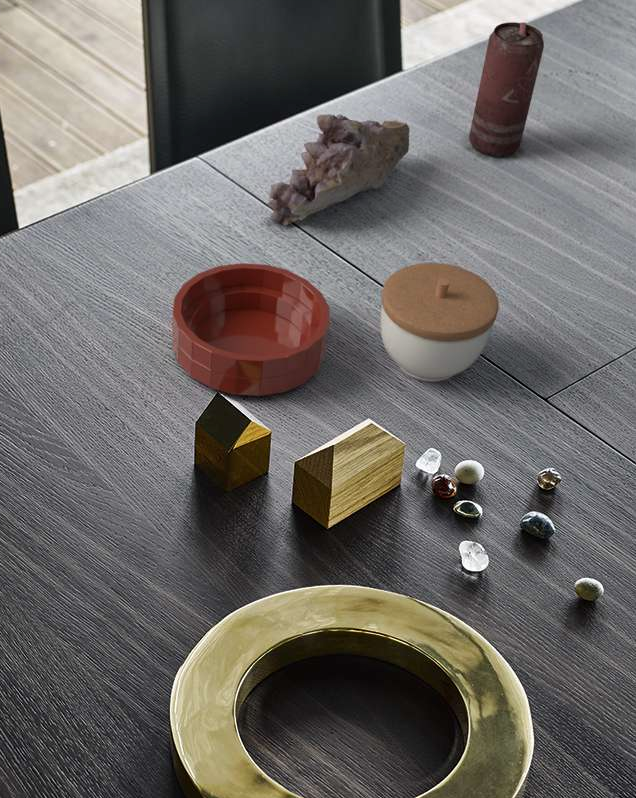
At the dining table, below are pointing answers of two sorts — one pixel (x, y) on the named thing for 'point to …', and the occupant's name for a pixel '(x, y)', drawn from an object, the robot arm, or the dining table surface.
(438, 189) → the dining table surface
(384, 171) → the mineral specimen
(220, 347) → the bowl
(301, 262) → the dining table surface
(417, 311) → the trinket box
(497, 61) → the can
